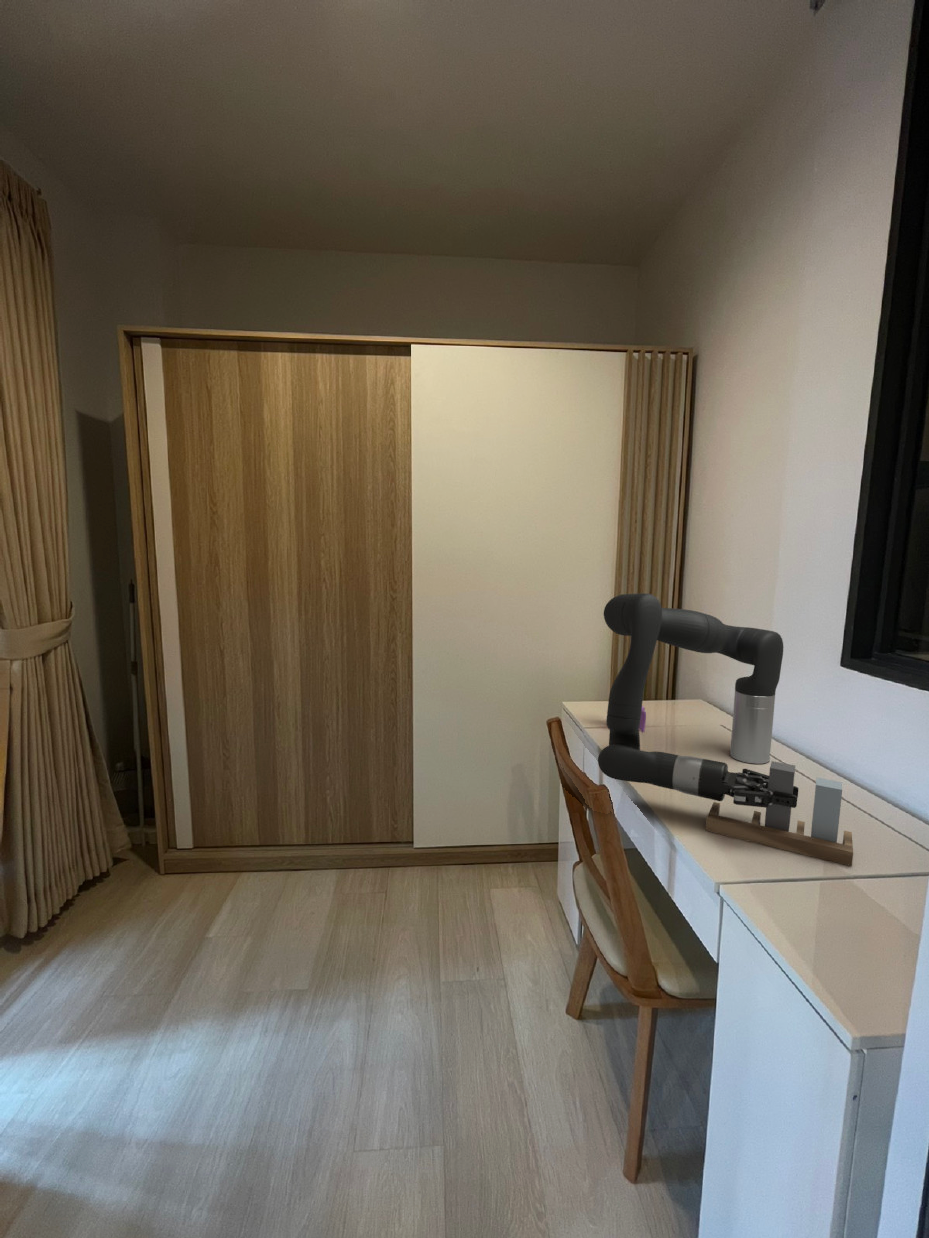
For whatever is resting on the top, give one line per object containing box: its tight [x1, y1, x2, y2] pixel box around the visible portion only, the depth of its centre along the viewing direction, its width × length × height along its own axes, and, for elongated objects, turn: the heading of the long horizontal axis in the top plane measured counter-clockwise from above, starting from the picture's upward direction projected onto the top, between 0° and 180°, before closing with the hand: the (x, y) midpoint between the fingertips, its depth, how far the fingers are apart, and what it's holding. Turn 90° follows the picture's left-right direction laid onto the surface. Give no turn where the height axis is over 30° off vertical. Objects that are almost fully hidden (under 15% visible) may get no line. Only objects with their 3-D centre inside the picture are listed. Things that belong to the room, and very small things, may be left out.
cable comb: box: [705, 801, 854, 867], centre depth 113 cm, size 8×24×2 cm, turn 59°
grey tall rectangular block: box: [764, 760, 796, 832], centre depth 113 cm, size 4×4×12 cm
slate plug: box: [810, 777, 843, 843], centre depth 110 cm, size 4×4×12 cm
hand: (797, 797), depth 112 cm, fingers closed on grey tall rectangular block, 4 cm apart
